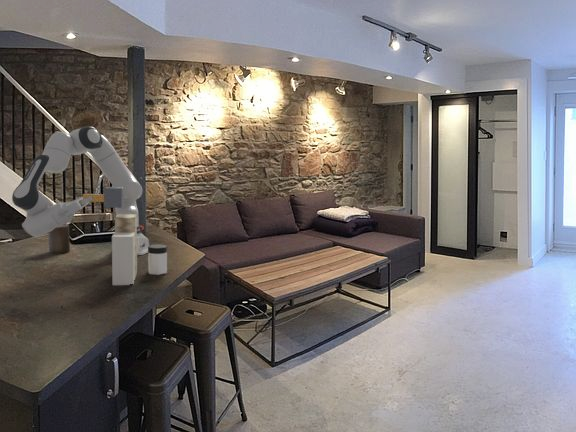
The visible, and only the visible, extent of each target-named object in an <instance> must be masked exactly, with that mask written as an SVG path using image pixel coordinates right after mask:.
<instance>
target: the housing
mask: <svg viewBox="0 0 576 432" xmlns="http://www.w3.org/2000/svg"><path fill="white" fill-rule="evenodd" d="M90 196H92V197H93V200H91V201H90V202H89V203H103V208H108V209H109V208H113V209H115V208H122V207H123V187H112V186H105V187H104V188H103V193H83V194H82V197H83V199H85V198H88V197H90Z"/></svg>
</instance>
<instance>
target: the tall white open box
mask: <svg viewBox="0 0 576 432" xmlns="http://www.w3.org/2000/svg"><path fill="white" fill-rule="evenodd" d="M111 260H112V261H111V262H112V264H111V268H112V269H111V271H112V272H111V273H112V275H111V276H112V278H111V279H112V281H111V282H112V286H131V285H130V284H133V285H134V283H135V281H134V280H136V277H135V232H117V233H115V232H114V233H112V236H111Z"/></svg>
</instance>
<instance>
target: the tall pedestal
mask: <svg viewBox="0 0 576 432" xmlns="http://www.w3.org/2000/svg"><path fill="white" fill-rule="evenodd" d="M117 232H135V278H137V273H138V255H137V215H135V214H117V216H116V215H115V217H114V233H117Z"/></svg>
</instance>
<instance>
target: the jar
mask: <svg viewBox="0 0 576 432" xmlns="http://www.w3.org/2000/svg"><path fill="white" fill-rule="evenodd" d="M147 271H148V274H149V275H154V276H155V275H157V276H160V275H165V274H167V273H168V246H167V245H165V244H151V245H150V244H149V246H148V252H147Z"/></svg>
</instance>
